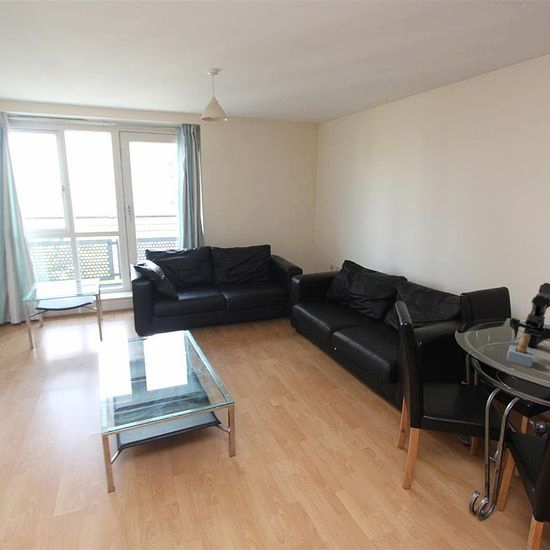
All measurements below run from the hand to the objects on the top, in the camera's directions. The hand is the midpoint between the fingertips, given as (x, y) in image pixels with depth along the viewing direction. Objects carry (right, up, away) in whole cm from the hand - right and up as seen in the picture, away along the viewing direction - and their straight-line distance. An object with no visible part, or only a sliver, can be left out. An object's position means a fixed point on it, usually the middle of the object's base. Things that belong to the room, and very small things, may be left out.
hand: (525, 342), depth 186 cm
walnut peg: (-4, -8, -1) cm, 9 cm away
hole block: (-4, -9, -1) cm, 10 cm away
